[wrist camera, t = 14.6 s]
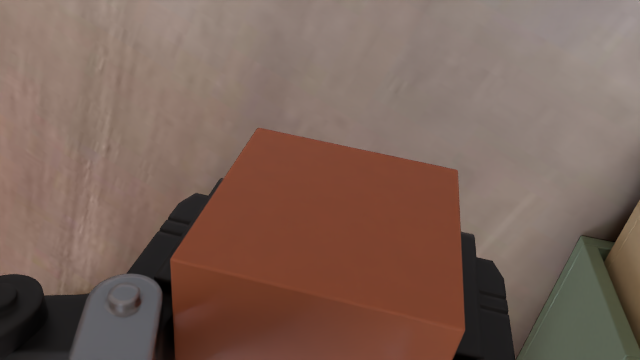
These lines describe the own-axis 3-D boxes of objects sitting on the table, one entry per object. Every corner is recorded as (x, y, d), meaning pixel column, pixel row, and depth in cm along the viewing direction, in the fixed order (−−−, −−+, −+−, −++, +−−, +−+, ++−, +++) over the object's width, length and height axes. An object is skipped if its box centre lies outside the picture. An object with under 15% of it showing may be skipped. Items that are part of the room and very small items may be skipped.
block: (257, 126, 12) (169, 258, 8) (458, 169, 11) (466, 330, 8) (247, 272, 14) (177, 424, 11) (411, 311, 14) (399, 485, 10)
